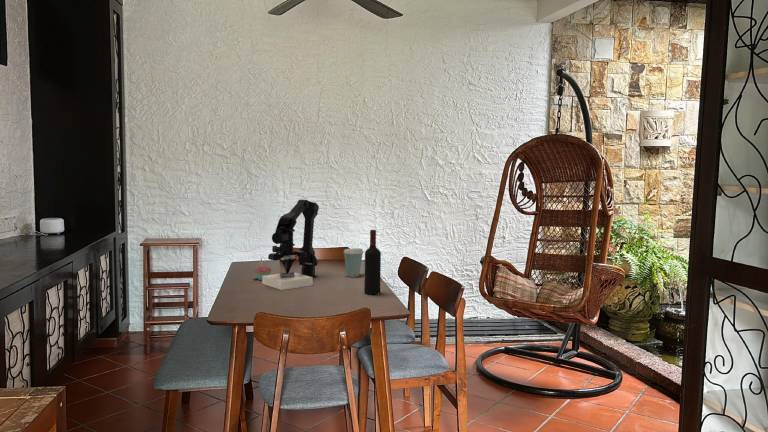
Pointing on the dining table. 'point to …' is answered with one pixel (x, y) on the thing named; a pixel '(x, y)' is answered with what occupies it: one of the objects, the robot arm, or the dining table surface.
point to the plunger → (287, 274)
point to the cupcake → (262, 271)
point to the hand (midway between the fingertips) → (287, 272)
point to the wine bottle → (372, 267)
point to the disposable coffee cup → (353, 261)
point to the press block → (287, 281)
